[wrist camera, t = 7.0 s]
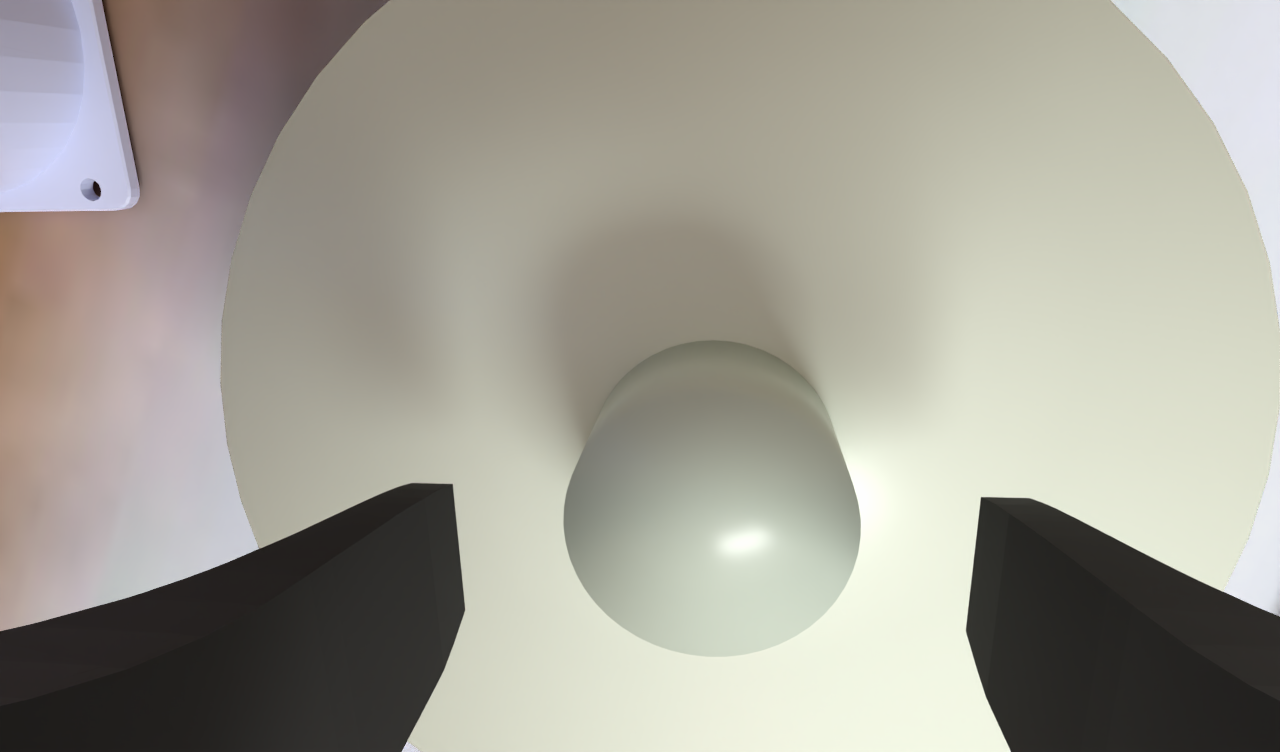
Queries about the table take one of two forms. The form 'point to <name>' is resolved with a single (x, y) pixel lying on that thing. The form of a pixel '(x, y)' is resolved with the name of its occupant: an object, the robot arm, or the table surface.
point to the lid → (747, 344)
